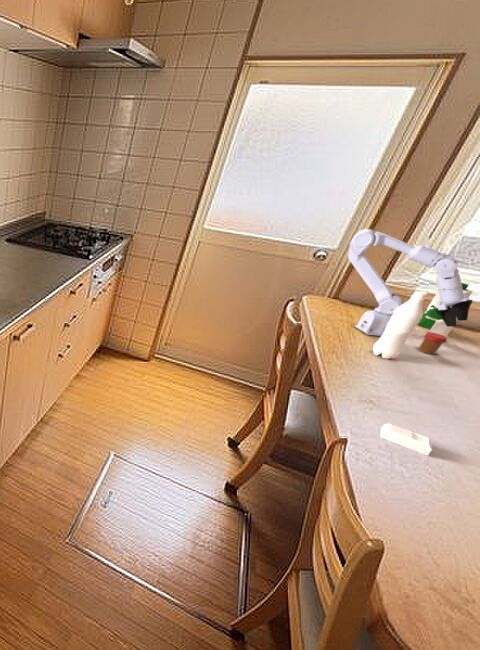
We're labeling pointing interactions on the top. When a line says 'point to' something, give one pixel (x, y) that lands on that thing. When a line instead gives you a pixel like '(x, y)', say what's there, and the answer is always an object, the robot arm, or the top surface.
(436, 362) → the top surface
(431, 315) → the milk carton
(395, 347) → the water bottle
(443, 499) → the top surface
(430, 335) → the lid
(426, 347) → the jar
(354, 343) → the top surface
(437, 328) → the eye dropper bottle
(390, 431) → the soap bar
